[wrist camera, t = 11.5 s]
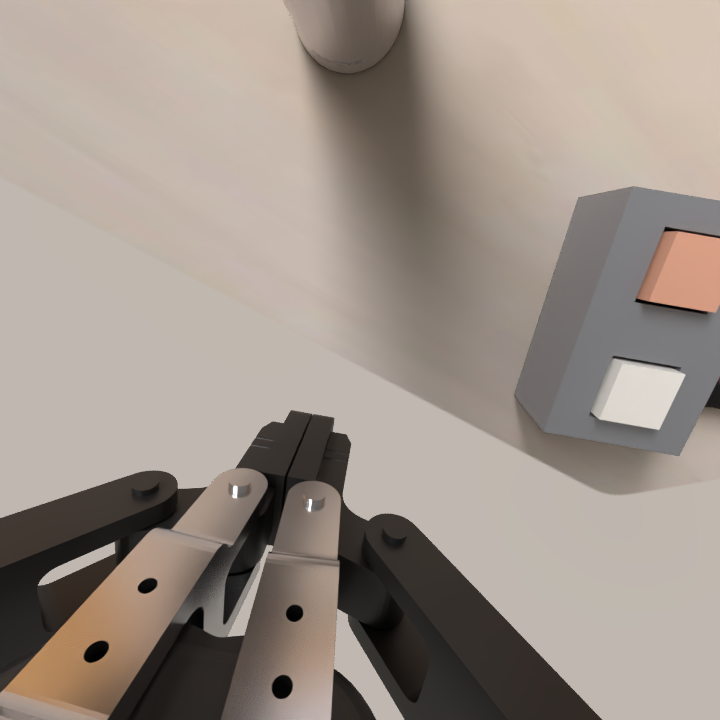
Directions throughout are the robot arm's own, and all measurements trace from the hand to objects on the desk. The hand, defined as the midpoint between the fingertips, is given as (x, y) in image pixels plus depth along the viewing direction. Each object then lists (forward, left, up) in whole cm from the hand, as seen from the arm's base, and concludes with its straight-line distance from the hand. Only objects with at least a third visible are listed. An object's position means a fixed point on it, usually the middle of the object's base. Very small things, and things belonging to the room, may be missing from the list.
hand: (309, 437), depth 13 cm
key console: (-3, +24, -27) cm, 36 cm away
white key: (+2, +24, -24) cm, 34 cm away
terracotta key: (-8, +24, -24) cm, 35 cm away
